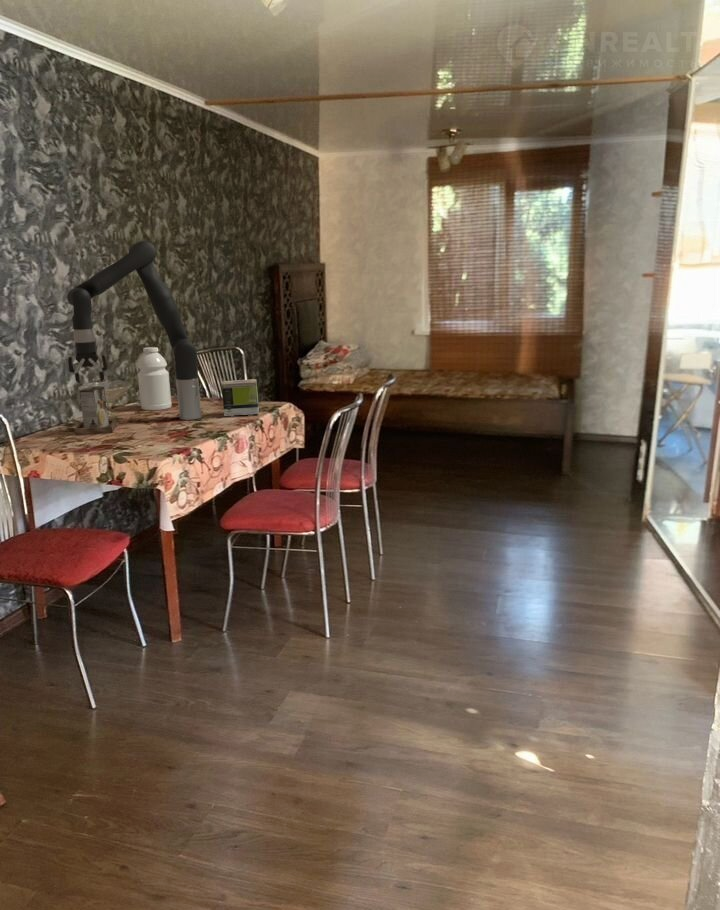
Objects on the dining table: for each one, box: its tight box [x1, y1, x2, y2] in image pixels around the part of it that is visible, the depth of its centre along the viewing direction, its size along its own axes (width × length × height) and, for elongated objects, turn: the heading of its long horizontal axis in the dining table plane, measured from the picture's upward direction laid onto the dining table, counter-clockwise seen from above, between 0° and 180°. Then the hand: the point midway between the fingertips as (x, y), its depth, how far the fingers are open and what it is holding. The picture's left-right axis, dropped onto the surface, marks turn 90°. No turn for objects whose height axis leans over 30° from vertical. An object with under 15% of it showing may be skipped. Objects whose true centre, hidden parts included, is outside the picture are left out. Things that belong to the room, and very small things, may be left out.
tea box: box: [221, 378, 260, 417], centre depth 304 cm, size 15×10×15 cm
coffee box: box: [79, 386, 109, 428], centre depth 278 cm, size 9×6×16 cm
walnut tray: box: [73, 419, 117, 436], centre depth 280 cm, size 14×14×2 cm
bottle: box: [136, 346, 173, 411], centre depth 321 cm, size 14×14×28 cm
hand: (90, 381), depth 275 cm, fingers open, 8 cm apart
